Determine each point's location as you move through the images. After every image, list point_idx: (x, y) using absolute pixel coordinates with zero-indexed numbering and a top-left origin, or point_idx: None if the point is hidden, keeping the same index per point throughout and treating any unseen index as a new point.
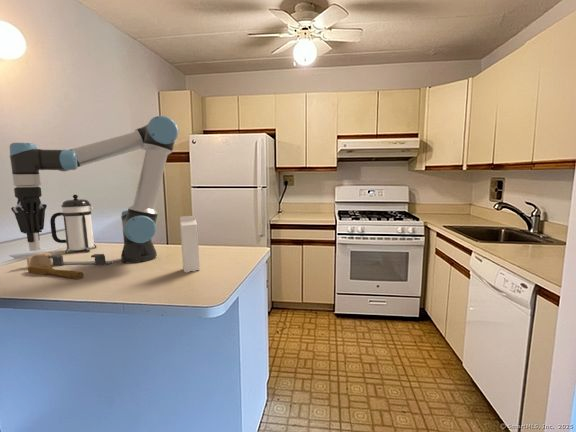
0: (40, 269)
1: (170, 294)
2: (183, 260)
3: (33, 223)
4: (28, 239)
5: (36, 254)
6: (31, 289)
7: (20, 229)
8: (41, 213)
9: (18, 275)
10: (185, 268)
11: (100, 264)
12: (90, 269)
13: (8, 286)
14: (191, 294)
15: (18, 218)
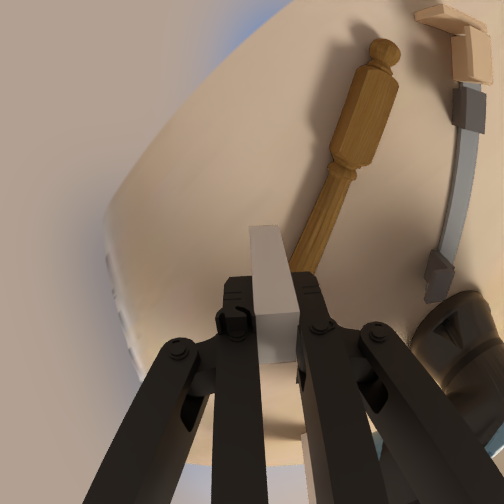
0: (345, 127)
1: (198, 443)
2: (306, 452)
3: (312, 424)
4: (225, 301)
5: (470, 35)
6: (168, 236)
7: (153, 370)
8: (423, 501)
9: (332, 28)
10: (301, 441)
11: (427, 266)
12: (381, 269)
13: (187, 116)
14: (202, 452)
15: (106, 494)
